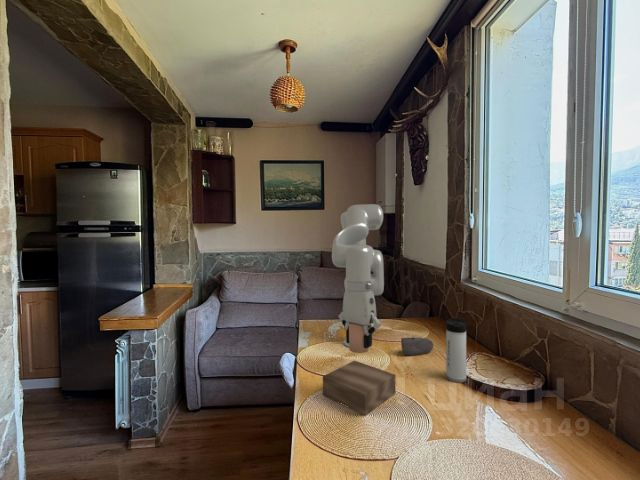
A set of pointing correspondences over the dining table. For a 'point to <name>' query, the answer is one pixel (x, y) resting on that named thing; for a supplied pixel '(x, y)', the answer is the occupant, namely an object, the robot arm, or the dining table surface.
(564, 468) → the dining table surface
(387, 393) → the walnut riser block
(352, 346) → the terracotta canister
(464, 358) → the travel mug
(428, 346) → the dark grey rounded block
